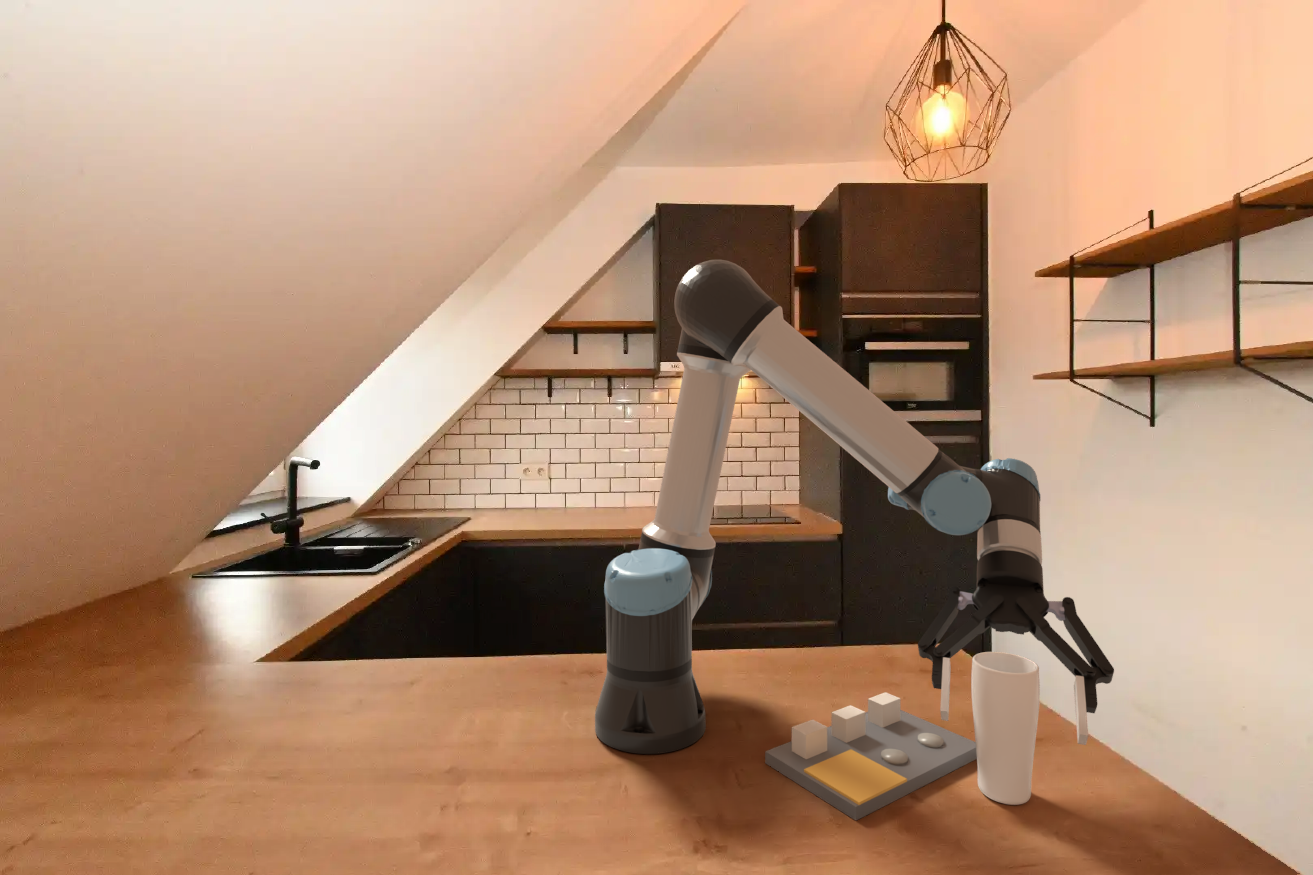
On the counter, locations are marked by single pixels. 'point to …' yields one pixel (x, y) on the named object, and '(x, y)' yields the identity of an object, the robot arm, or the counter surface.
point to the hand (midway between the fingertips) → (1010, 727)
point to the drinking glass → (1005, 724)
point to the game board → (869, 755)
